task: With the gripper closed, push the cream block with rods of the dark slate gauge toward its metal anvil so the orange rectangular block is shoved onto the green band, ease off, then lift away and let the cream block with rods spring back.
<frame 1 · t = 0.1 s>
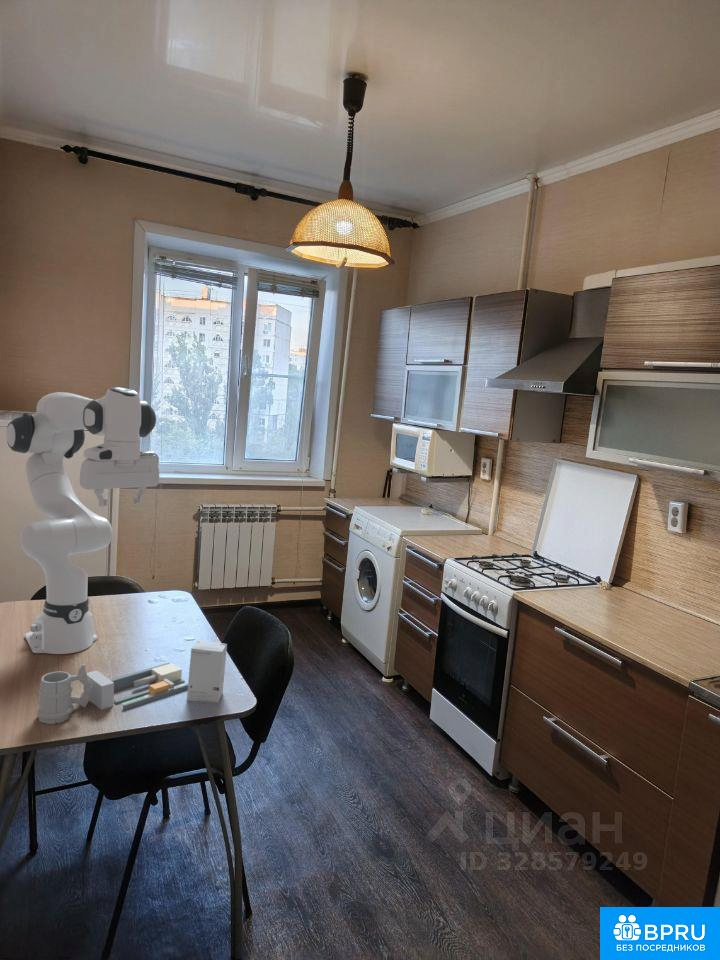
hand: (120, 504, 163), 48 cm above the table, fingers open, 8 cm apart
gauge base: (141, 692, 163), on the table
orange rectangular block: (158, 693, 161), point 1 cm above the table, touching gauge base
cream block with rods: (160, 680, 164), point 3 cm above the table, slide at 0.0 cm
mug: (64, 715, 150), on the table
skincare box: (205, 701, 162), on the table
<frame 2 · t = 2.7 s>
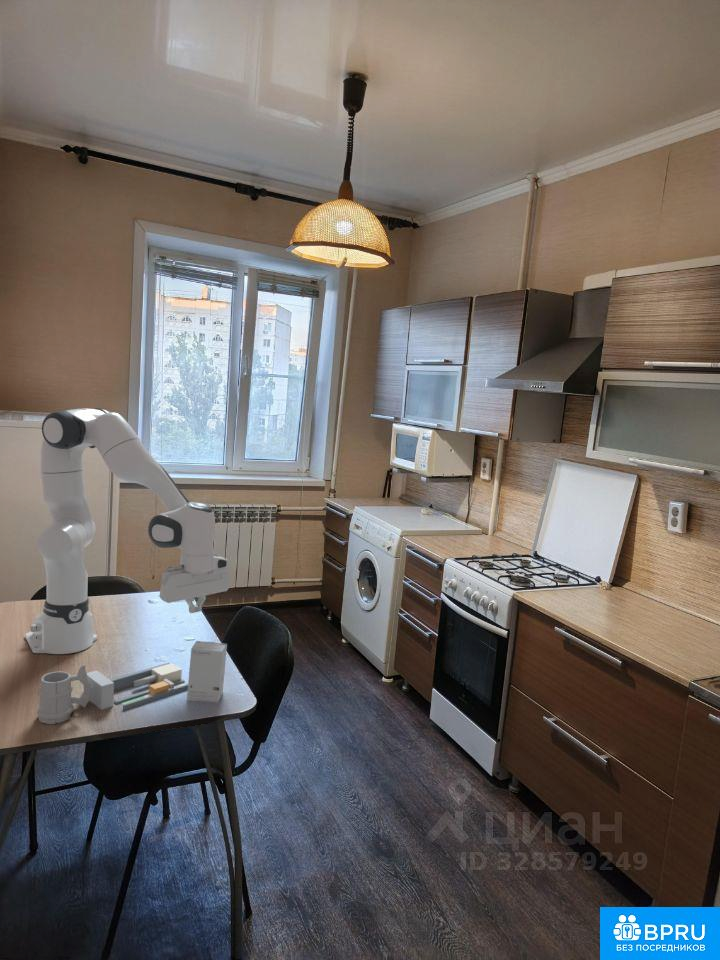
hand: (195, 611, 172), 19 cm above the table, fingers closed
nothing on the table moved.
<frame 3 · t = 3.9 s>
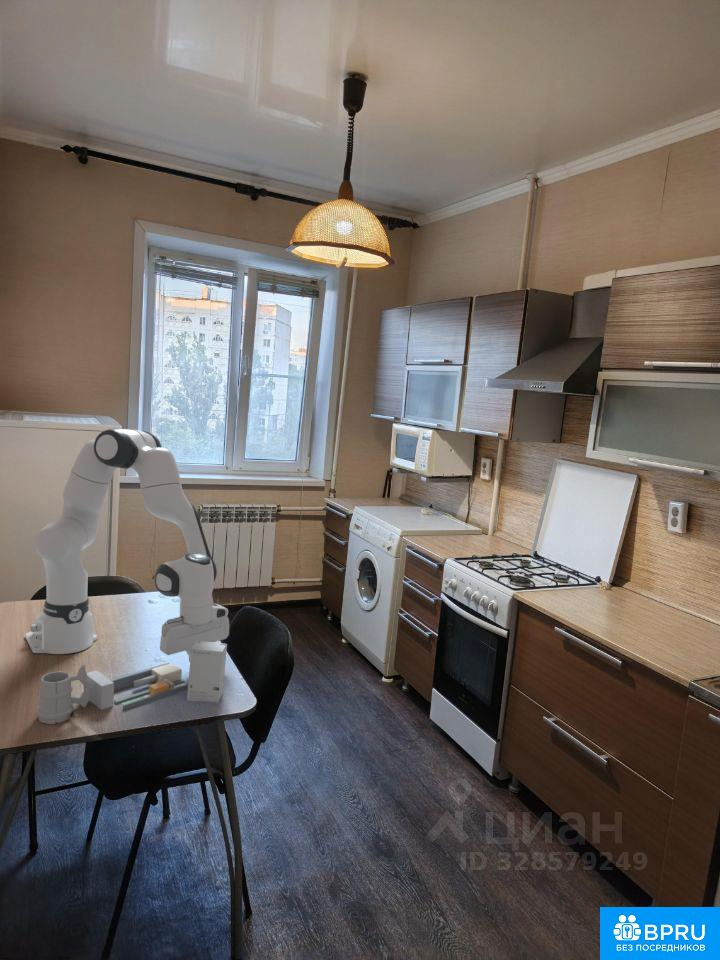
hand: (194, 661, 174), 4 cm above the table, fingers closed
nothing on the table moved.
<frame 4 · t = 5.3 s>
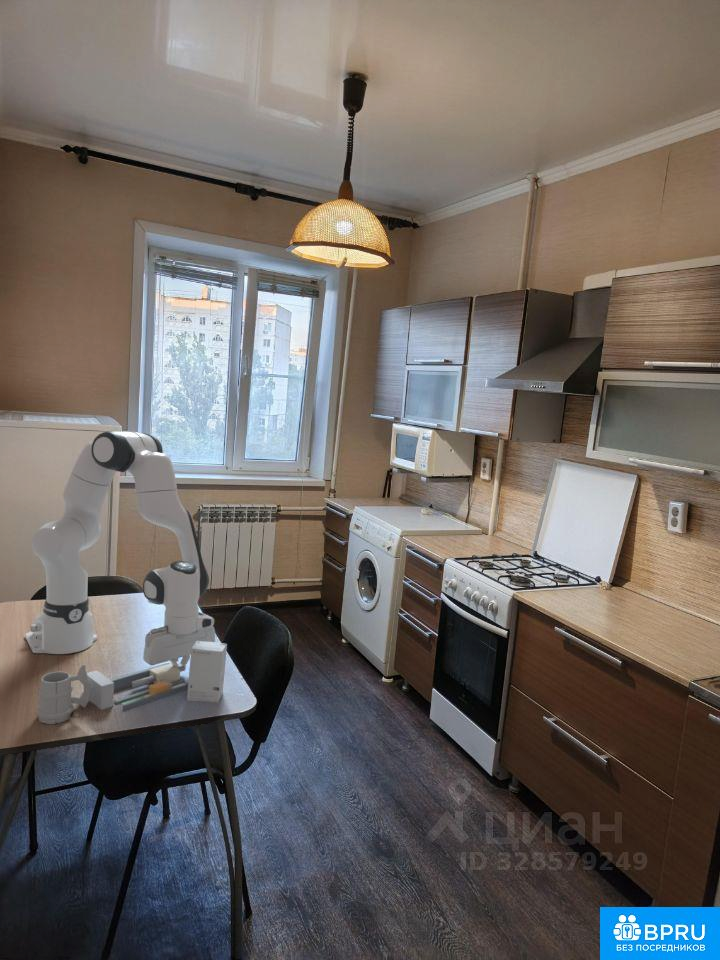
hand: (179, 671, 171), 3 cm above the table, fingers closed
orange rectangular block: (158, 693, 160), point 1 cm above the table
cream block with rods: (159, 681, 164), point 3 cm above the table, slide at 0.5 cm, touching gripper
everything else where it was.
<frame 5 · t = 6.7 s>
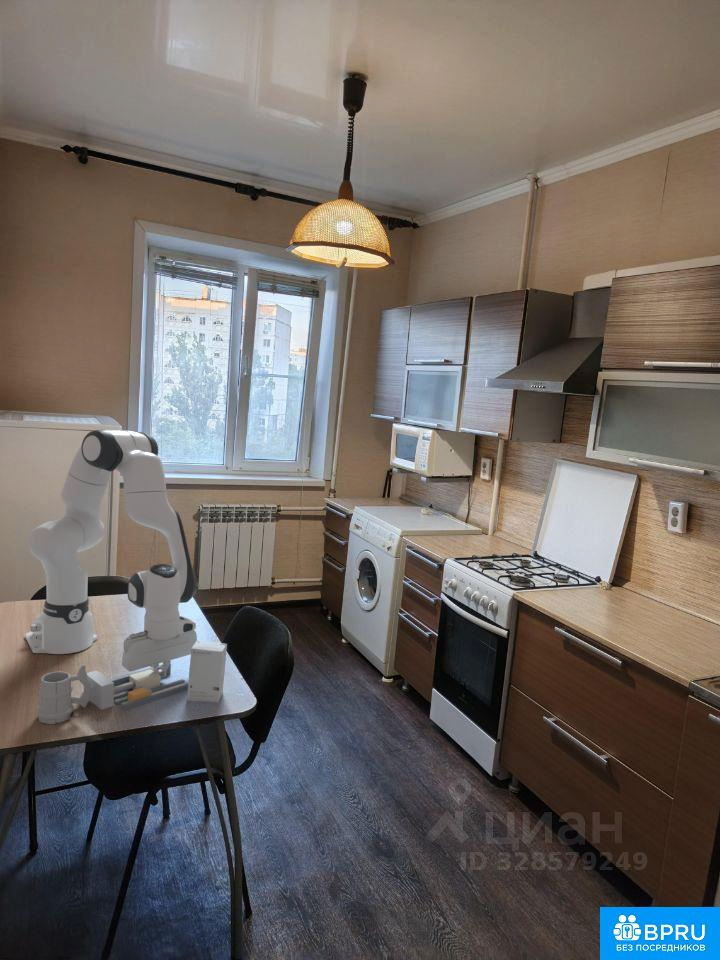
hand: (159, 677, 167), 3 cm above the table, fingers closed
orange rectangular block: (137, 700, 156), point 1 cm above the table, touching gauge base, cream block with rods
cream block with rods: (138, 687, 160), point 3 cm above the table, slide at 6.3 cm, touching gripper, orange rectangular block
everything else where it was.
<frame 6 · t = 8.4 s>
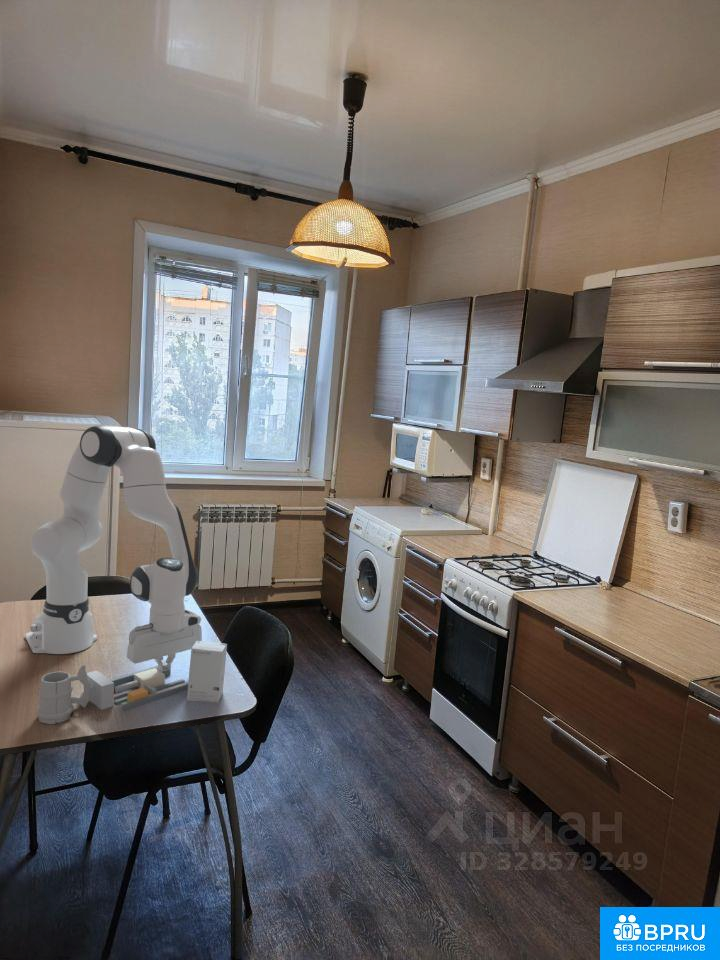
hand: (164, 670, 168), 4 cm above the table, fingers closed
orange rectangular block: (137, 700, 156), point 1 cm above the table, touching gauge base
cream block with rods: (143, 685, 161), point 3 cm above the table, slide at 5.0 cm, touching gripper
everything else where it was.
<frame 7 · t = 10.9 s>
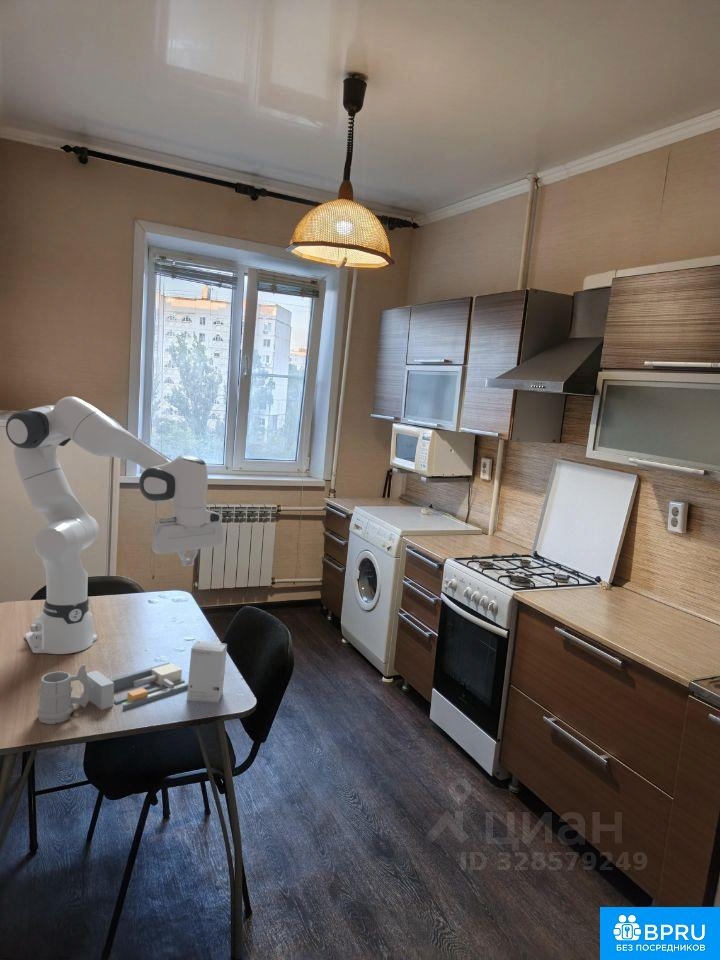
hand: (187, 565, 172), 31 cm above the table, fingers closed
cream block with rods: (160, 680, 164), point 3 cm above the table, slide at 0.0 cm
everything else where it was.
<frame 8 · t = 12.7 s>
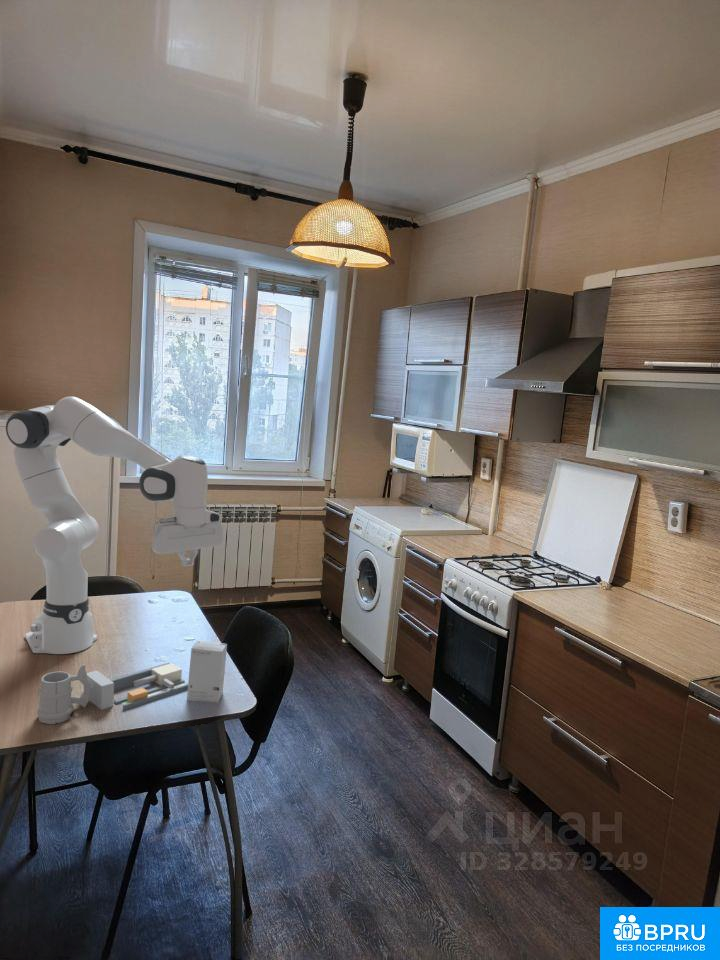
hand: (187, 565, 172), 31 cm above the table, fingers closed
nothing on the table moved.
at the end: orange rectangular block 0.1 cm from the target spot on the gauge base, point 1.3 cm above the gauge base's base; cream block with rods slide at 0.0 cm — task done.
